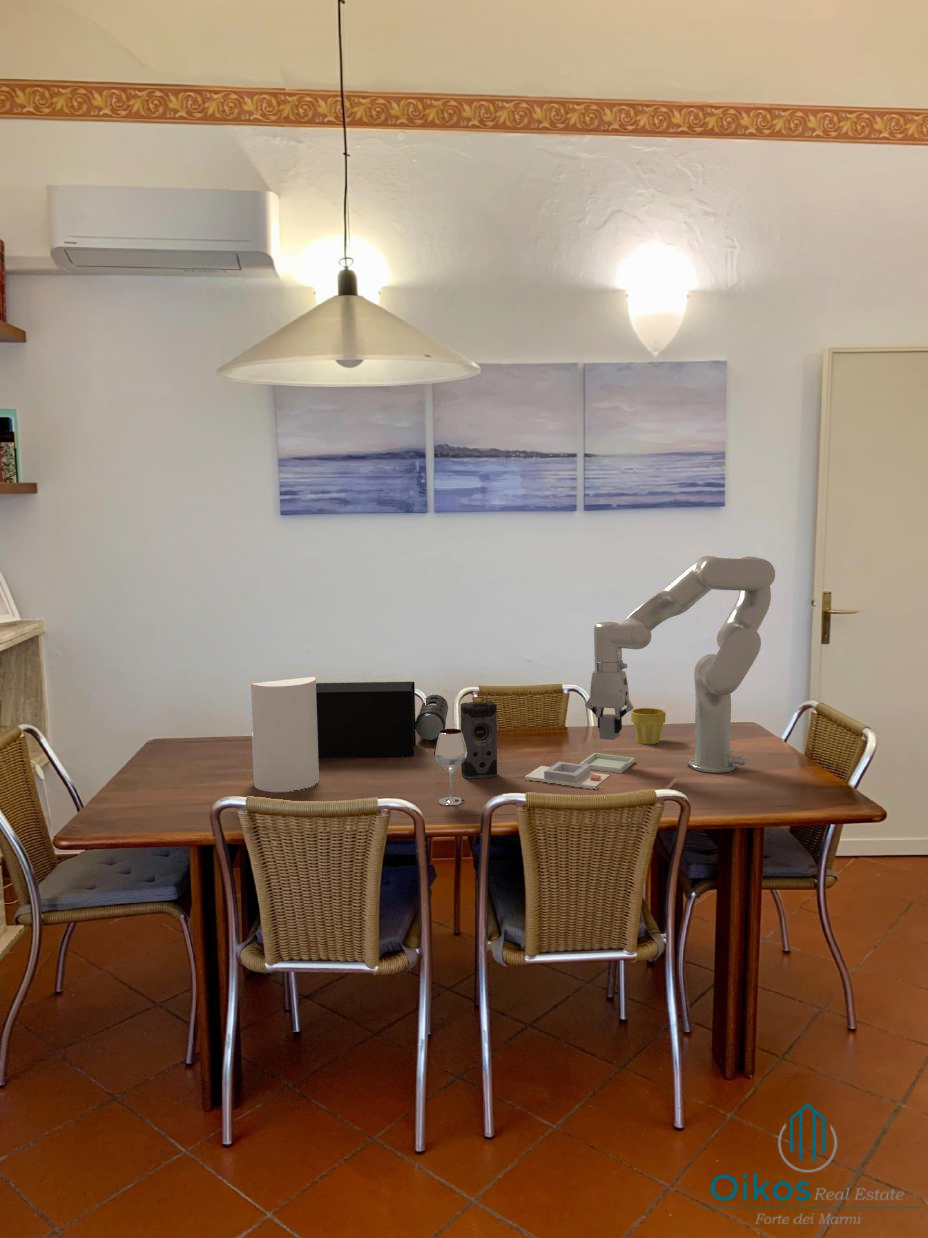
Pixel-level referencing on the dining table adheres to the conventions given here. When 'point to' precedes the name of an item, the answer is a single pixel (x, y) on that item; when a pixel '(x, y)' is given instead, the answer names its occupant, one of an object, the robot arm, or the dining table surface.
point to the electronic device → (479, 739)
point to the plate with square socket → (567, 775)
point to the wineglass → (450, 757)
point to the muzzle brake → (432, 717)
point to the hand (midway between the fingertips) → (609, 731)
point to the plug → (608, 727)
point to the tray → (608, 762)
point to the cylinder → (285, 734)
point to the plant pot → (648, 724)
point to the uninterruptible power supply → (366, 719)
